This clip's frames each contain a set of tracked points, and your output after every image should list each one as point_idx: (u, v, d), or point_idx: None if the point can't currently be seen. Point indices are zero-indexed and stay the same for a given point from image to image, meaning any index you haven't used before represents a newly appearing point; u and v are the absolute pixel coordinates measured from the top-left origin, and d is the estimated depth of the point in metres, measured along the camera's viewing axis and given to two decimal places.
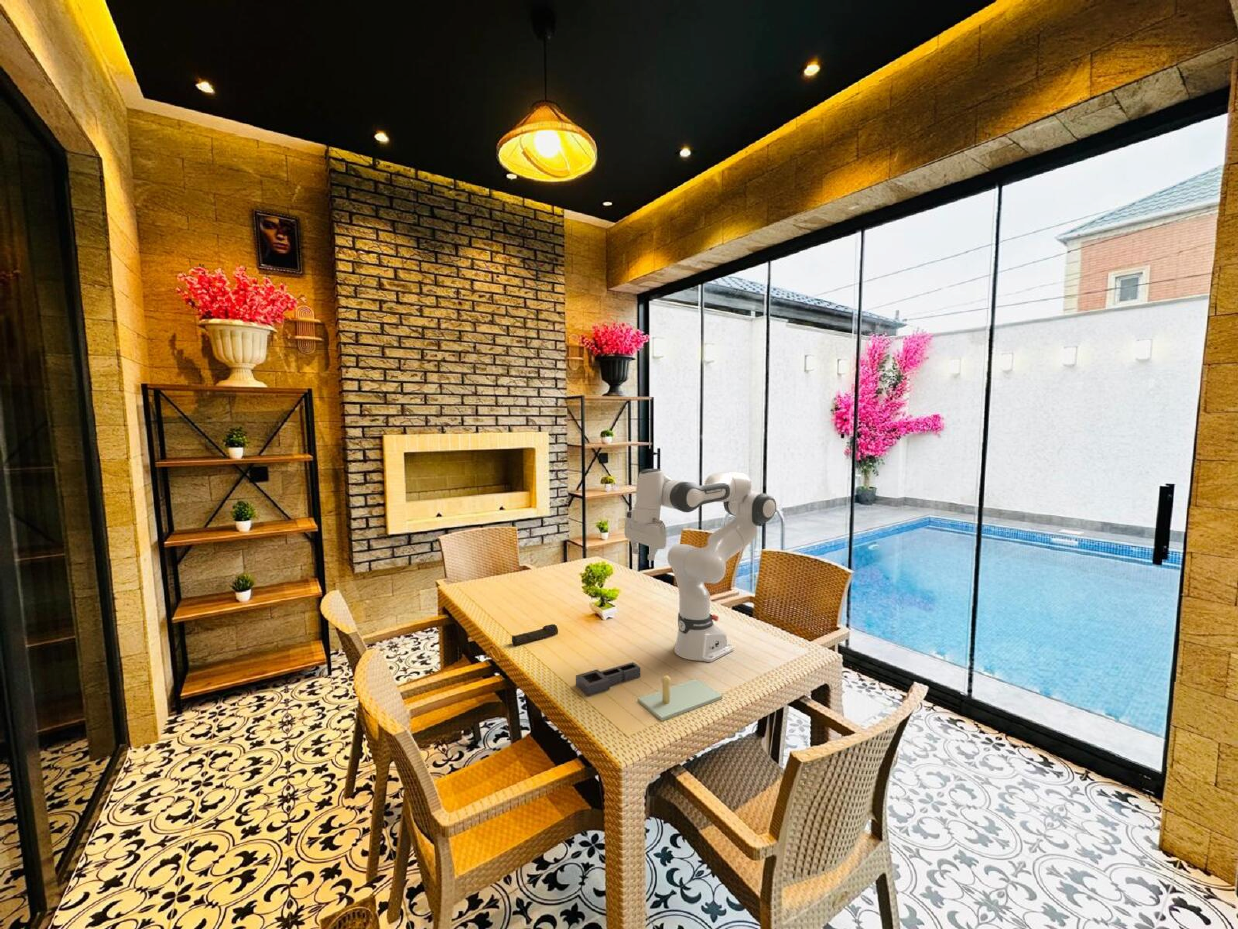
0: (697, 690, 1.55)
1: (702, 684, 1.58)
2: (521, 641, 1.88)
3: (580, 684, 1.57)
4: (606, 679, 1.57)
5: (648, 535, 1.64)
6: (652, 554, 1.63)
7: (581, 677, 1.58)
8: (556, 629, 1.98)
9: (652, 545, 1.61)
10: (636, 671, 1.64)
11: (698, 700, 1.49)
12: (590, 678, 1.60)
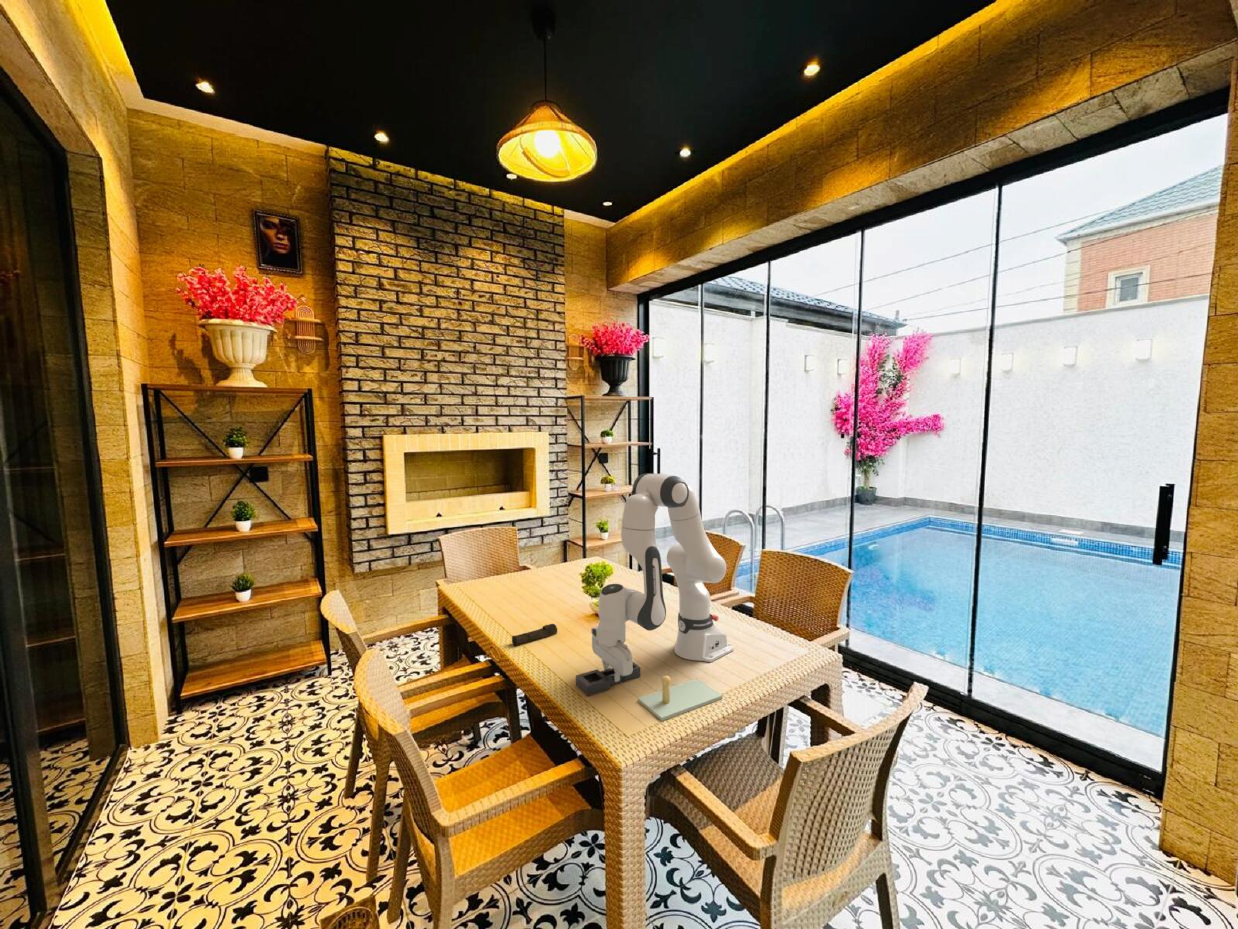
0: (697, 690, 1.55)
1: (702, 684, 1.58)
2: (521, 641, 1.88)
3: (580, 684, 1.57)
4: (606, 679, 1.57)
5: (614, 659, 1.56)
6: (617, 675, 1.58)
7: (581, 677, 1.58)
8: (555, 628, 1.98)
9: (618, 671, 1.54)
10: (636, 671, 1.64)
11: (698, 700, 1.49)
12: (590, 678, 1.60)
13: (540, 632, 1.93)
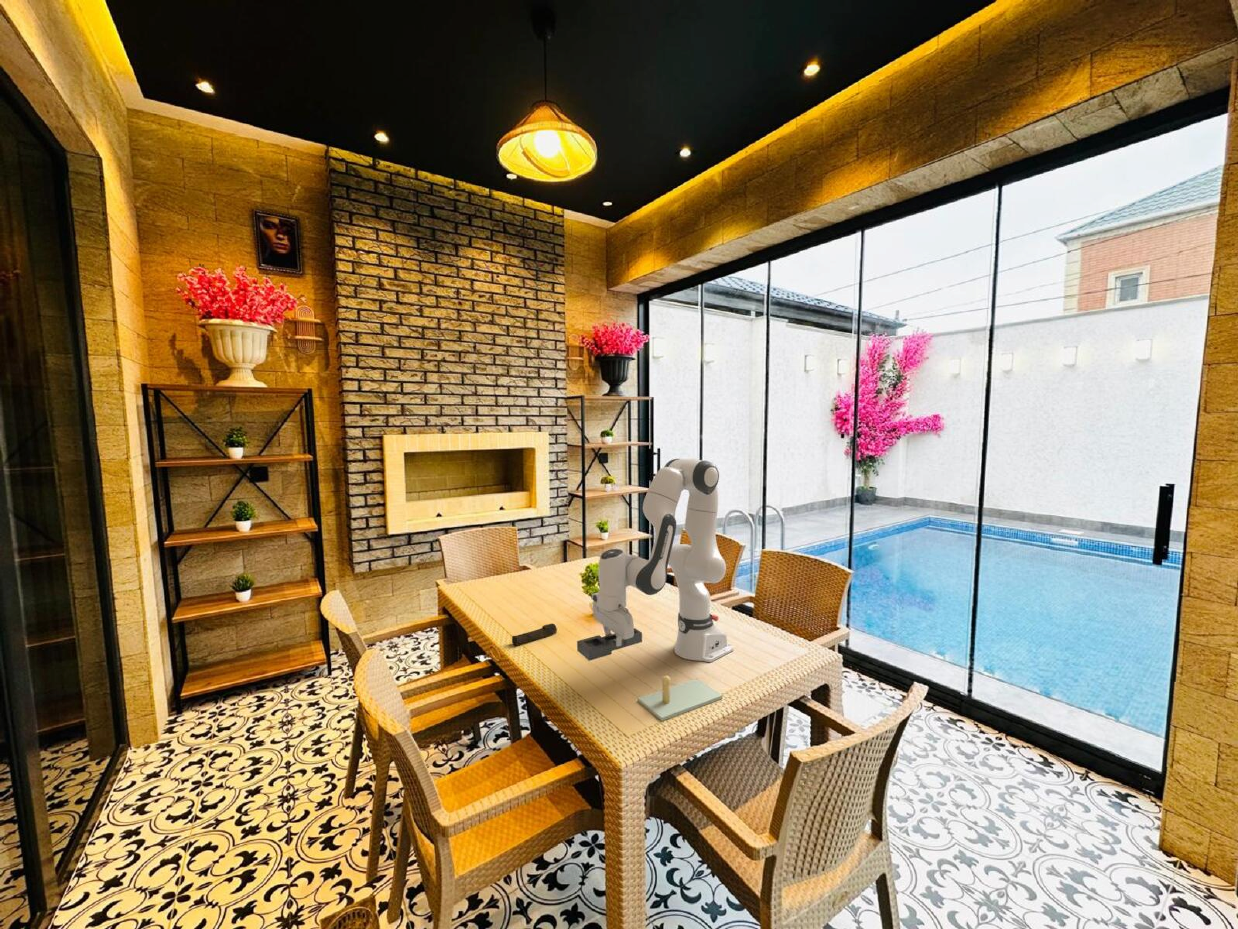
0: (697, 690, 1.55)
1: (702, 684, 1.58)
2: (522, 641, 1.88)
3: (581, 649, 1.56)
4: (607, 644, 1.56)
5: (615, 623, 1.55)
6: (618, 640, 1.57)
7: (582, 642, 1.57)
8: (555, 628, 1.98)
9: (620, 635, 1.53)
10: (638, 636, 1.63)
11: (698, 700, 1.49)
12: (591, 643, 1.60)
13: (540, 632, 1.93)
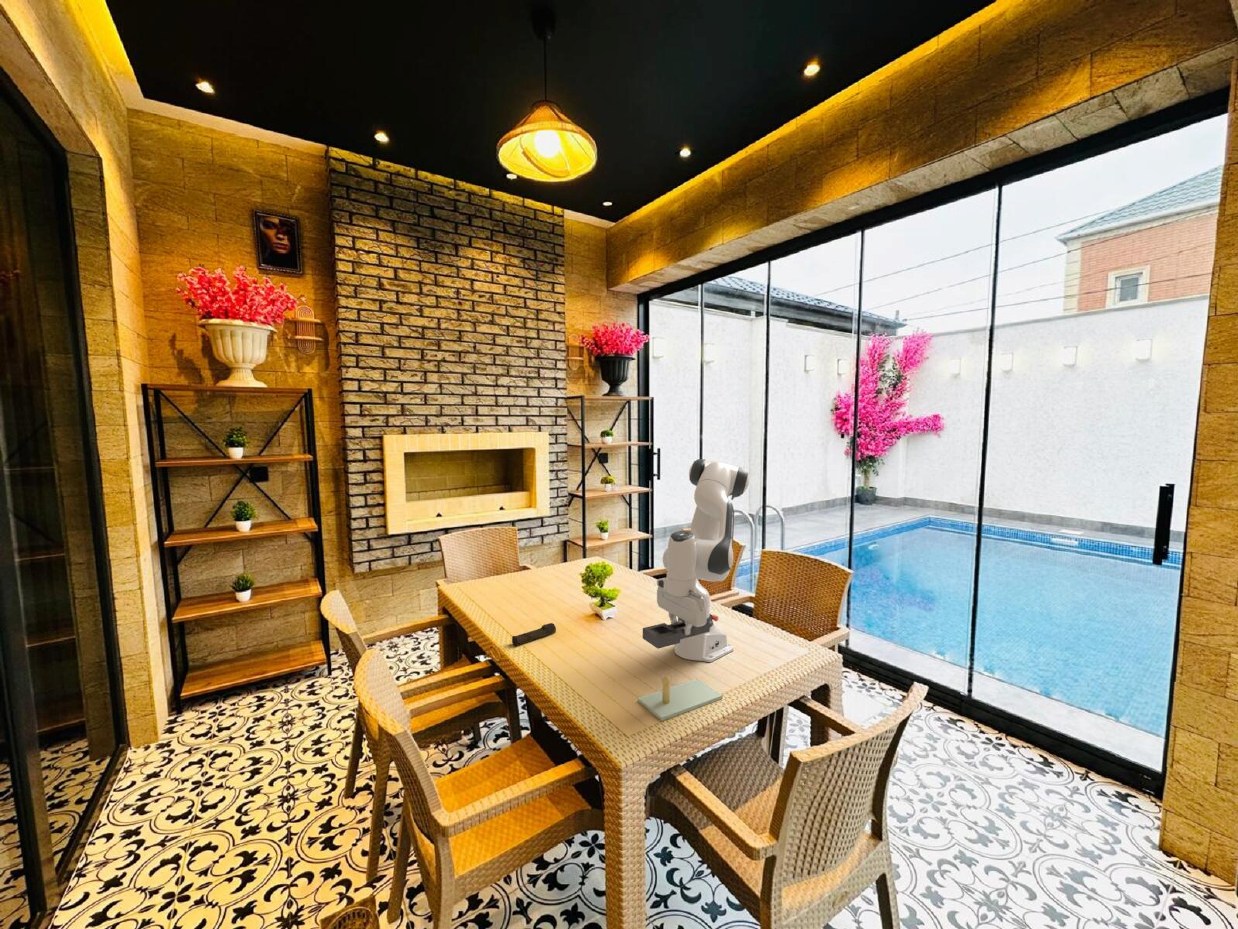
0: (697, 690, 1.55)
1: (702, 684, 1.58)
2: (522, 641, 1.88)
3: (648, 636, 1.46)
4: (676, 631, 1.46)
5: (685, 610, 1.46)
6: (687, 628, 1.47)
7: (649, 629, 1.47)
8: (554, 628, 1.99)
9: (691, 622, 1.43)
10: (705, 625, 1.53)
11: (698, 700, 1.49)
12: (658, 631, 1.50)
13: (540, 632, 1.93)
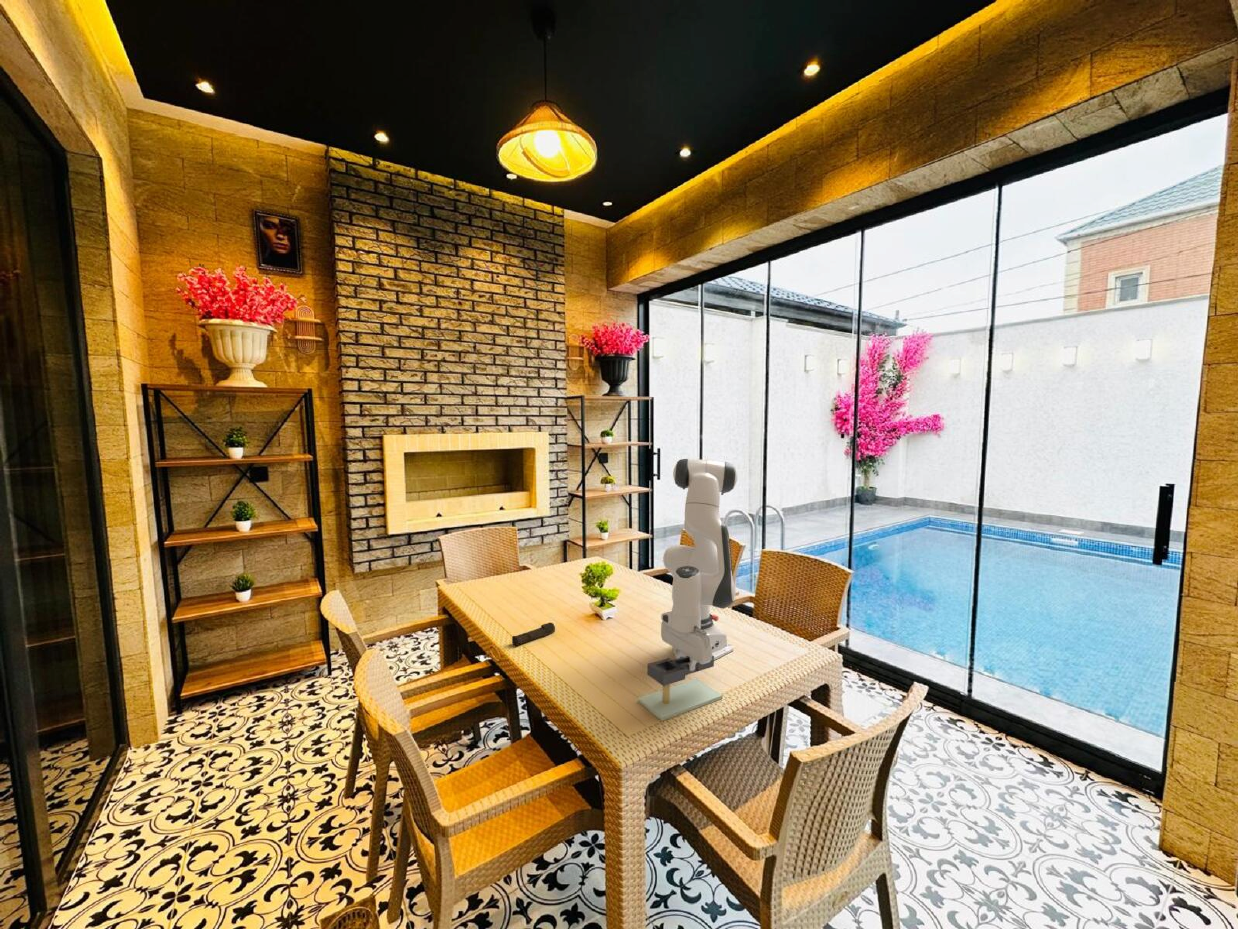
0: (697, 690, 1.55)
1: (702, 684, 1.58)
2: (522, 641, 1.88)
3: (653, 673, 1.46)
4: (681, 668, 1.46)
5: (690, 646, 1.46)
6: (692, 664, 1.47)
7: (654, 666, 1.47)
8: (553, 627, 1.99)
9: (696, 659, 1.44)
10: None
11: (698, 700, 1.49)
12: (662, 667, 1.50)
13: (539, 631, 1.94)
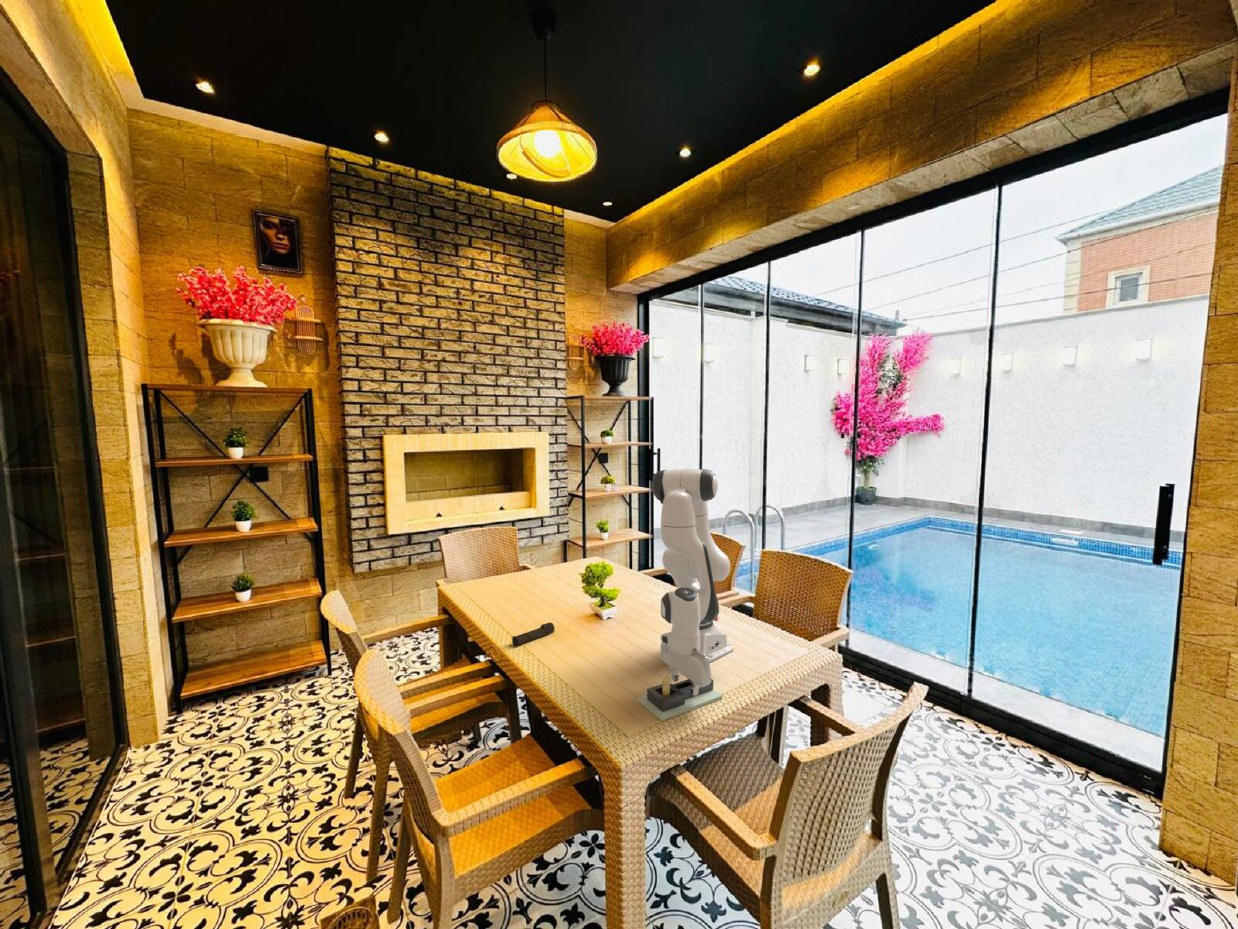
0: None
1: None
2: (522, 641, 1.88)
3: (653, 698, 1.47)
4: (681, 693, 1.47)
5: (690, 668, 1.46)
6: (696, 689, 1.47)
7: (653, 691, 1.48)
8: (553, 627, 2.00)
9: (695, 682, 1.44)
10: (709, 684, 1.54)
11: (698, 700, 1.49)
12: None
13: (539, 631, 1.94)
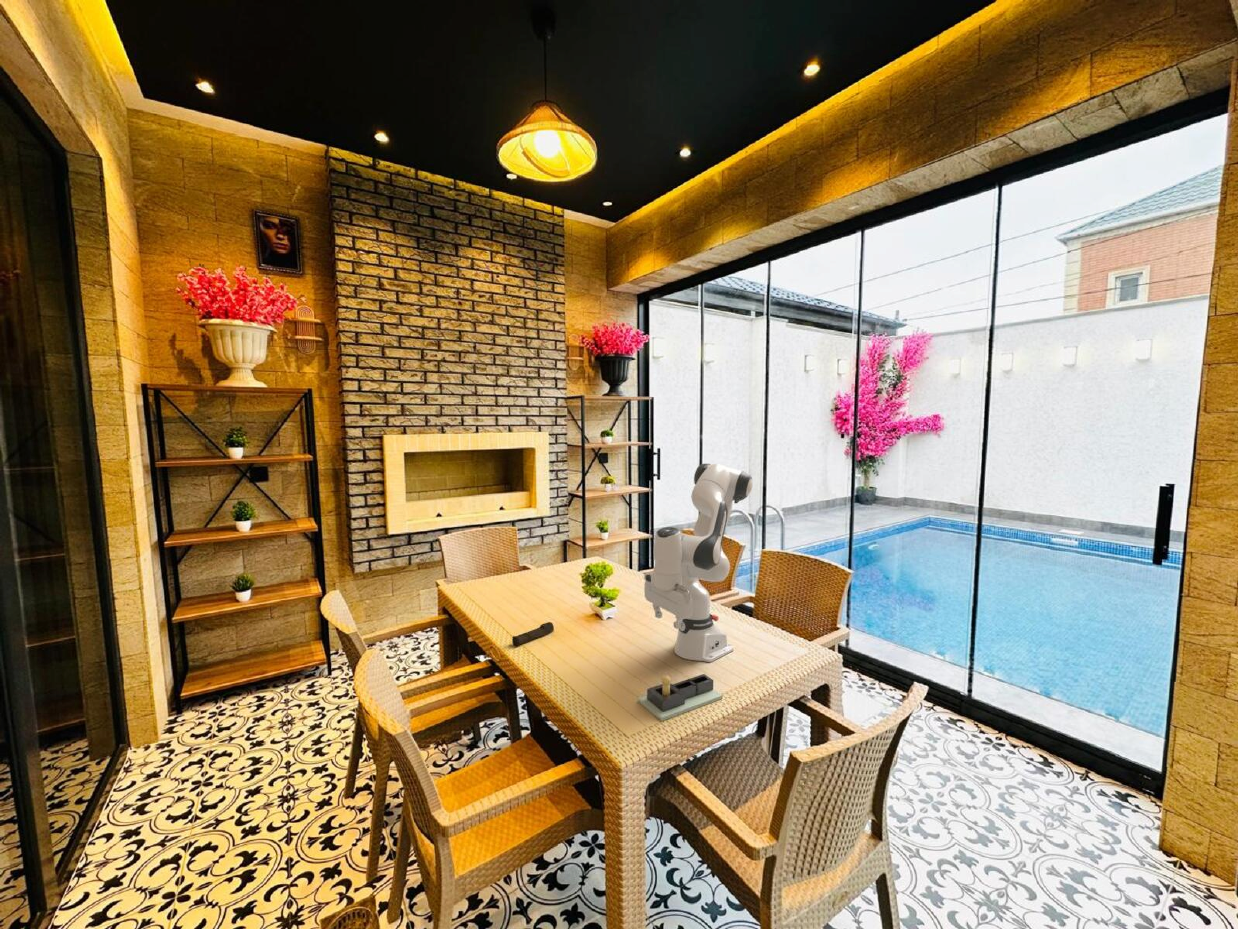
0: None
1: None
2: (522, 641, 1.88)
3: (653, 698, 1.47)
4: (681, 693, 1.47)
5: (672, 603, 1.51)
6: (678, 622, 1.52)
7: (653, 691, 1.48)
8: (552, 626, 2.00)
9: (678, 614, 1.49)
10: (709, 684, 1.54)
11: (698, 700, 1.49)
12: None
13: (539, 631, 1.94)
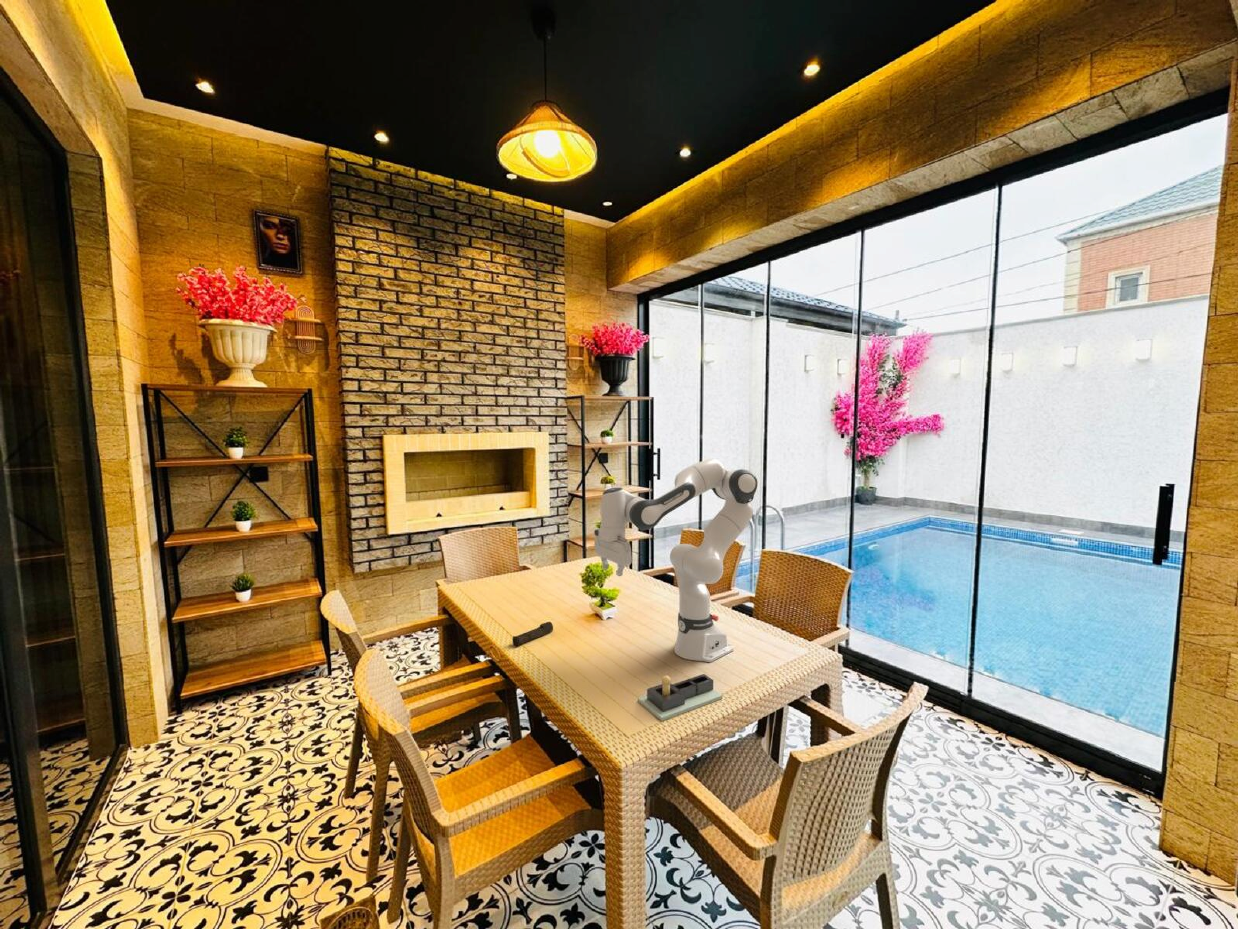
0: None
1: None
2: (523, 641, 1.88)
3: (653, 698, 1.47)
4: (681, 693, 1.47)
5: (614, 552, 1.71)
6: (620, 570, 1.72)
7: (653, 691, 1.48)
8: (552, 626, 2.00)
9: (618, 562, 1.69)
10: (709, 684, 1.54)
11: (698, 700, 1.49)
12: None
13: (539, 631, 1.94)
